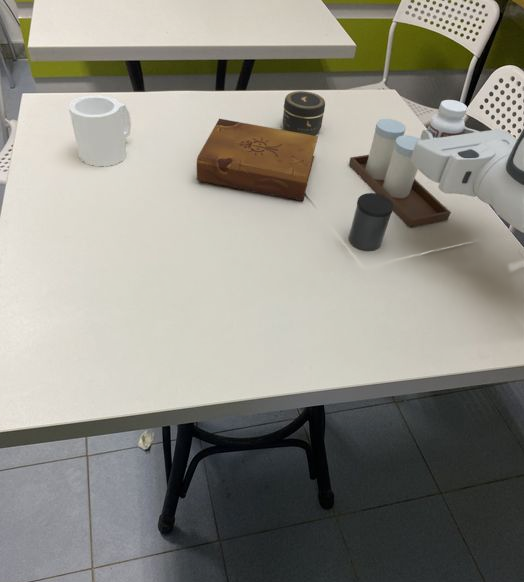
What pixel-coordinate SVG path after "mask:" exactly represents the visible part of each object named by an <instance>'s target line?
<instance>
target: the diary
mask: <svg viewBox="0 0 524 582" xmlns="http://www.w3.org/2000/svg"><path fill="white" fill-rule="evenodd" d="M317 142H318V136H317V135H315V136H313V135H307V134H302V133H296V132H291V131H285V130H284V129H279V128H274V127H268V126H263V125H257V124H252V123H247V122H241V121H235V120H229V119H225V118H218V119H217V122H216V123H215V125H214V127H213V129H212V130H211V132H210V134H209V136H208V138H207V139H206V141H205V143H204V145H203V147H202V148H201V150H200V152H199V153H198V155H197V158H196V181H198V182H202V183H206V184H213V185H217V186H223V187H227V188H233V189H239V190H244V191H248V192H254V193H260V194H265V195H271V196H276V197H280V198H286V199H291V200H296V201H302V202H303V201H304V199H305V196H306V190H307V187H308V183H309V179H310V175H311V171H312V167H313V163H314V160H315V150H316V146H317Z"/></svg>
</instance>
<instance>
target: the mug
mask: <svg viewBox="0 0 524 582" xmlns="http://www.w3.org/2000/svg"><path fill="white" fill-rule="evenodd" d="M68 111H69V115H70V120H71V125H72V129H73V134H74V138H75V142H76V147H77V152H78V155H79V159H80V158H81V159H80V160H81V162H83V161H84V162H85V163H84V162H83V163H84V164H86V163H88V164H87V165H89V164H90V165H89V166H92V165H94V166H93V167H99V166H104V167H111V165H112V166H115V165H118V164H120V163H122V162H123V161H125V160H126V158H127V156H126V155H128V154H127V148H126V147H127V146H126V139H125V138H127V137H129V136H130V135H131V128H132V127H131V126H132V121H131V116H130V112H129V109H128V108H127V106H126V104H124V103H121V102H119V101H118V100H117V99H115V98H113V97H111V96H107V95H100V94H89V95H82V96H80V97H76V98H74V99H73V100H71V101H70V103H69V104H68ZM125 157H126V158H125ZM121 161H122V162H121ZM119 162H120V163H119Z"/></svg>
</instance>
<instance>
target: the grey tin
mask: <svg viewBox="0 0 524 582" xmlns="http://www.w3.org/2000/svg"><path fill="white" fill-rule="evenodd" d="M393 208H394V205H393V202H392V201H391V200H390V199H389V198H387V197H385V196H383V195H380V194H376V193H375V192H368V193H367V192H366V193H364V194H361V195H360V196H358V198H357V202H356V207H355V211H354V215H353V219H352V223H351V227H350V230H349V234H348V242H349V244H350V245H351V246H352V247H353V248H355V249H357V250H359V251H362V252H374V251H377V250H379V249H380V248H381V246H382V244H383V243H382V242H383V240H384V237H385V233H386V231H387V227H388V224H389V223H390V222H389V221H390V219H391V215H392V213H393V212H394V211H393Z"/></svg>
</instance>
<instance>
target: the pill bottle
mask: <svg viewBox="0 0 524 582" xmlns="http://www.w3.org/2000/svg"><path fill="white" fill-rule="evenodd" d="M437 111H438V112H436V113H434V114H433V115H432V116H431V118H430V120H429V123H428V127H427V129H426V130H428V129H431V130H432V131H433V132H435V135H434V137H433V138H435V137H436V138H440V137H447V136H454V135H461V134H462V132H463V130H464V126H465V127H466V125H465V121H464V119H463V118H465V116H466V113H467V111H468V106H467V105H466V104H465V103H463V102H461V101H458V100H455V99H444V100H442V101H440V105H439V107H438V110H437Z"/></svg>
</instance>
